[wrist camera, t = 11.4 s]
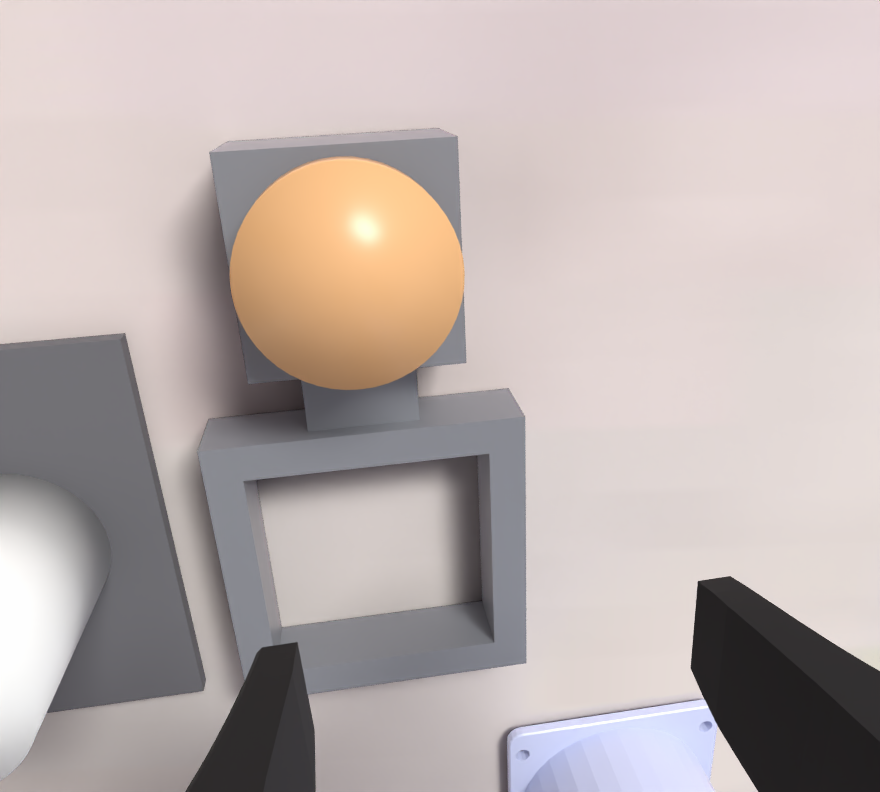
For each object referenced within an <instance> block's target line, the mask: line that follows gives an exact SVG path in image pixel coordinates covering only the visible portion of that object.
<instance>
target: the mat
mask: <svg viewBox="0 0 880 792" xmlns="http://www.w3.org/2000/svg"><path fill="white" fill-rule="evenodd" d="M0 474H17V475H24V476H30V477H34V478H38V479H42V480H45V481H48V482H50V483H53V484H56V485H58V486H60V487H62V488H64V489H66V490H67V491H69V492H70V493H72V494H74V495H75V496H77V497H78V498H79V499H80V500H82V501H83V502H84V503H85V504H86V505H87V506H88V507H89V508H90V509H91V510H92V511H93V512H94V513H95V514H96V516H97V517H98V519H99V520H100V521H101V523H102V525H103V527H104V528H105V530H106V533H107V536H108V538H109V542H110V547H111V566H110V571H109V574H108V577H107V579H106V582H105V584H104V586H103V588H102V591H101V593H100V595H99V597H98V599H97V602H96V604H95V606H94V608H93V611H92V613H91V615H90V617H89V619H88V622H87V624H86V626H85V628H84V631H83V633H82V635H81V637H80V639H79V642H78V644H77V646H76V648H75V651H74V653H73V655H72V657H71V660H70V662H69V664H68V666H67V668H66V671H65V673H64V675H63V677H62V680H61V682H60V684H59V686H58V688H57V691H56V693H55V695H54V697H53V700H52V702H51V704H50V706H49V708H48V711H47V713H49V712H57V711H64V710H71V709H78V708H85V707H92V706H99V705H106V704H114V703H121V702H128V701H135V700H142V699H149V698H156V697H163V696H171V695H178V694H185V693H192V692H199V691H204V686H205V681H206V678H205V674H204V670H203V665H202V661H201V657H200V652H199V648H198V644H197V640H196V635H195V631H194V627H193V622H192V618H191V614H190V610H189V605H188V601H187V597H186V593H185V588H184V584H183V580H182V575H181V571H180V567H179V563H178V558H177V554H176V550H175V545H174V541H173V537H172V533H171V528H170V524H169V520H168V515H167V511H166V507H165V503H164V498H163V494H162V490H161V485H160V481H159V477H158V473H157V468H156V464H155V460H154V456H153V451H152V447H151V443H150V438H149V434H148V430H147V426H146V421H145V417H144V413H143V408H142V404H141V400H140V396H139V391H138V387H137V383H136V378H135V374H134V370H133V366H132V361H131V357H130V353H129V348H128V344H127V340H126V336H125V333H123V334H112V335H101V336H89V337H78V338H67V339H56V340H44V341H33V342H22V343H10V344H0Z"/></svg>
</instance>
